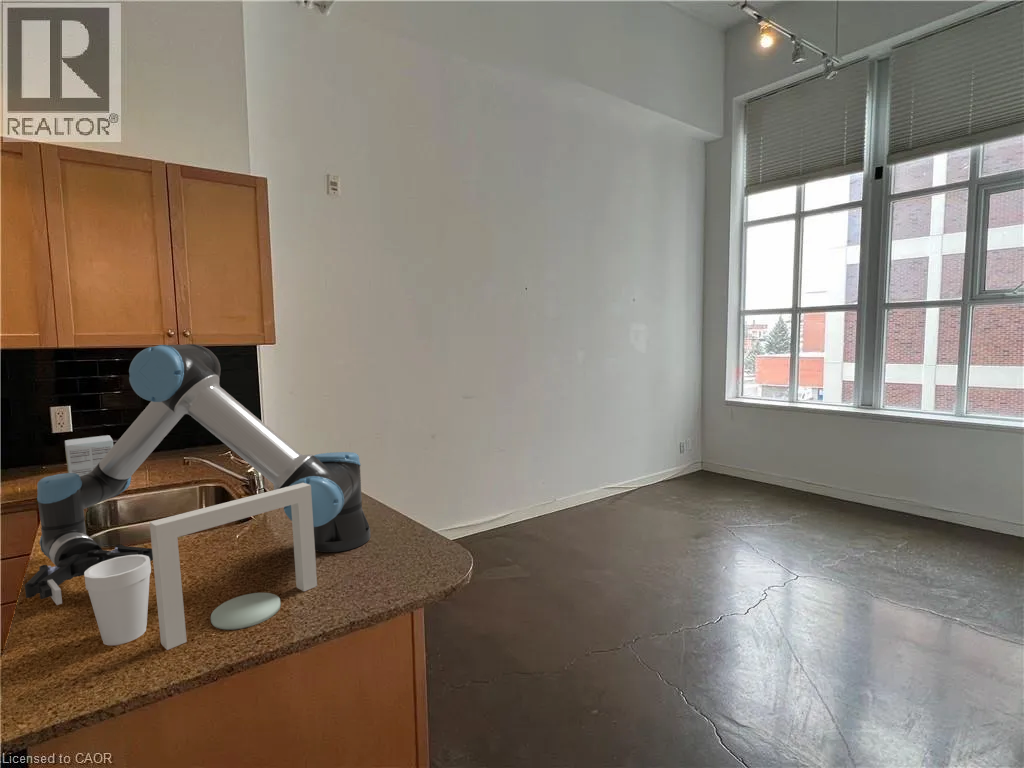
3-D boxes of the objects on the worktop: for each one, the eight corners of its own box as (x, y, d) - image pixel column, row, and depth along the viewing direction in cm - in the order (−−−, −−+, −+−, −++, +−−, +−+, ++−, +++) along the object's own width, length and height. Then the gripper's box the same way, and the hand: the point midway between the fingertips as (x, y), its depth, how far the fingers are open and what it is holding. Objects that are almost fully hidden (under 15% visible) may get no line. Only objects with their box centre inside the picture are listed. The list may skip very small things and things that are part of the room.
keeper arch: (298, 576, 116) (292, 479, 113) (329, 592, 108) (322, 488, 106) (152, 634, 94) (140, 516, 92) (177, 660, 86) (165, 531, 84)
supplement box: (69, 487, 189) (64, 440, 187) (114, 480, 198) (110, 434, 196) (70, 495, 179) (65, 445, 178) (118, 487, 188) (113, 439, 186)
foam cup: (167, 619, 99) (161, 553, 97) (134, 649, 90) (127, 576, 88) (116, 621, 98) (109, 555, 97) (77, 651, 89) (69, 579, 88)
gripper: (145, 551, 123) (180, 576, 109) (-2, 594, 103) (18, 631, 90) (142, 520, 122) (177, 542, 109) (-7, 558, 103) (13, 589, 89)
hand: (105, 582), depth 99 cm, fingers open, 13 cm apart
